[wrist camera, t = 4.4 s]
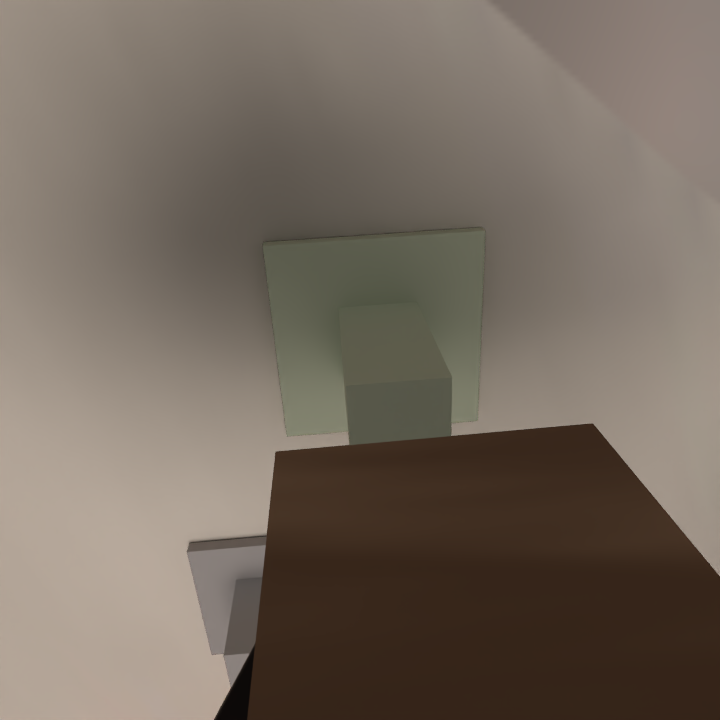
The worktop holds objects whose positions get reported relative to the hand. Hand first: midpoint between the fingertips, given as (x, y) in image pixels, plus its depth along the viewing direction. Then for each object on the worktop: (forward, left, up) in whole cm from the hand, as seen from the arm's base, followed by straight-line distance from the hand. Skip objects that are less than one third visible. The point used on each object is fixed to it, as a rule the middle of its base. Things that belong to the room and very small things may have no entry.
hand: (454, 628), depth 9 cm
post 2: (0, 0, -12) cm, 12 cm away
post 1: (+5, +11, -12) cm, 17 cm away
